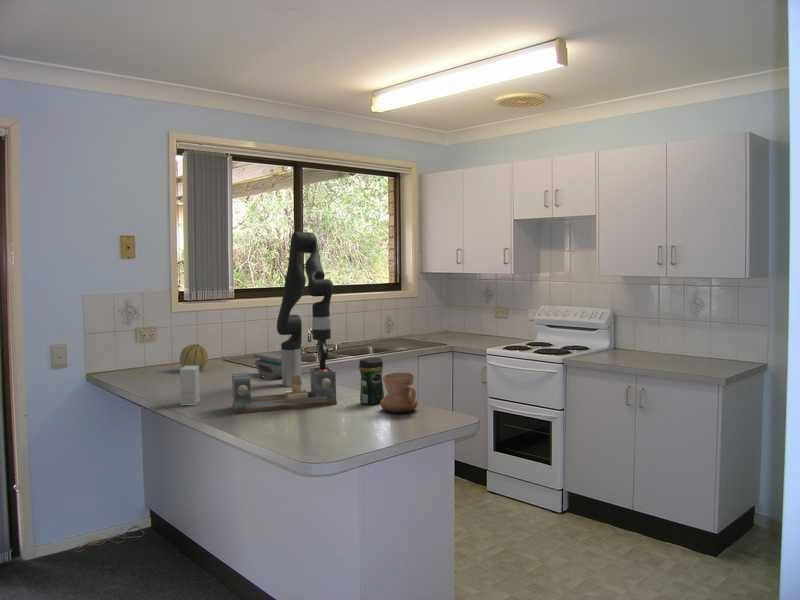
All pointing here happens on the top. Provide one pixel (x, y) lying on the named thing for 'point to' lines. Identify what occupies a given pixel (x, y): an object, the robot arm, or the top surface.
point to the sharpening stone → (269, 365)
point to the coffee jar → (371, 380)
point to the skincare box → (189, 385)
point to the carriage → (296, 389)
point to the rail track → (318, 396)
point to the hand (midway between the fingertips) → (322, 369)
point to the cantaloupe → (193, 356)
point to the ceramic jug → (399, 392)
